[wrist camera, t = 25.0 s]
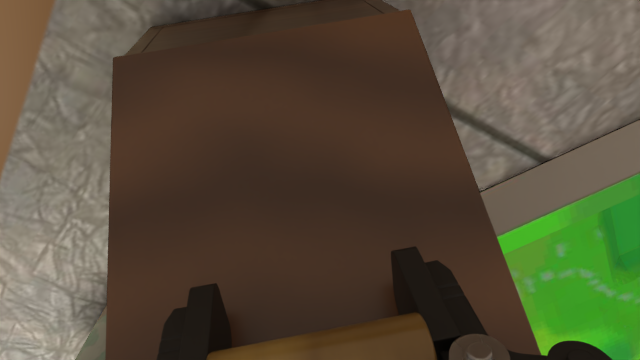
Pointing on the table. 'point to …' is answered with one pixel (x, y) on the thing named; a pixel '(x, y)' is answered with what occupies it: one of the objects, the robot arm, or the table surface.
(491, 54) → the table surface
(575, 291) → the tray
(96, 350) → the coffee cup
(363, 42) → the lid
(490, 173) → the table surface
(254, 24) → the chest
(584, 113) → the table surface
